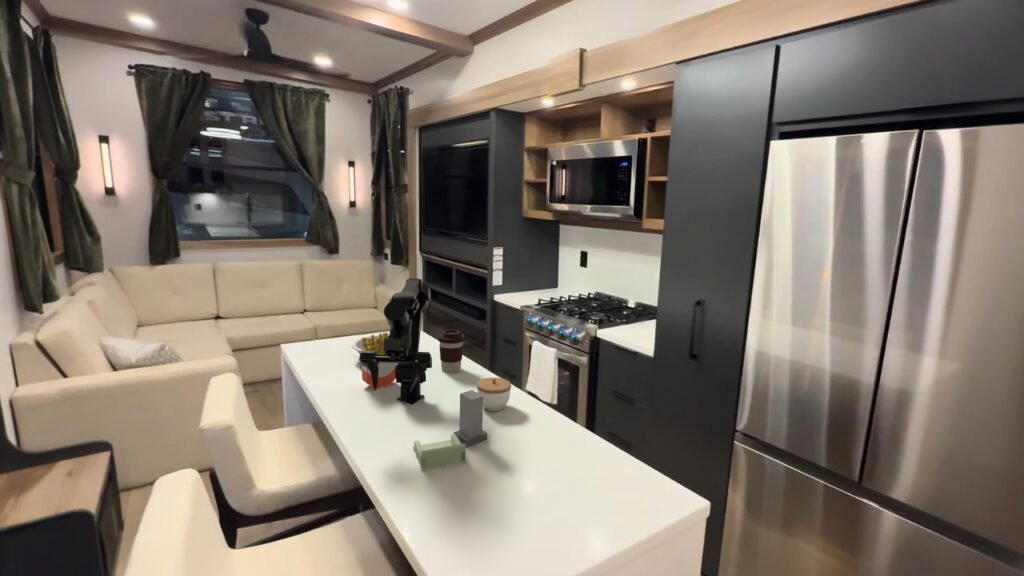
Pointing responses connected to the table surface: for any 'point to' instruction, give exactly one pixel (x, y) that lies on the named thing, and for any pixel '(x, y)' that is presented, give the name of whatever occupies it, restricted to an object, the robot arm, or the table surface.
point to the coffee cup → (451, 350)
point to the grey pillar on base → (471, 419)
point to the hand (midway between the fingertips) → (392, 390)
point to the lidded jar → (494, 392)
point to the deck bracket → (440, 453)
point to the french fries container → (385, 369)
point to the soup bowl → (358, 343)
